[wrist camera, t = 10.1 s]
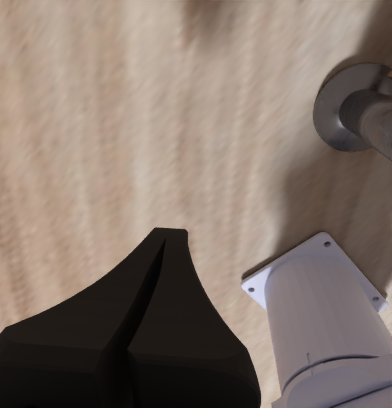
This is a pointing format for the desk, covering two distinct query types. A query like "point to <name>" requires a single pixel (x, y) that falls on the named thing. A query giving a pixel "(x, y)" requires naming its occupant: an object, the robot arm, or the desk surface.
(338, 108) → the gate post
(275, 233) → the desk surface
